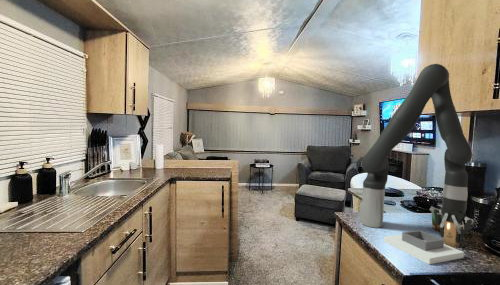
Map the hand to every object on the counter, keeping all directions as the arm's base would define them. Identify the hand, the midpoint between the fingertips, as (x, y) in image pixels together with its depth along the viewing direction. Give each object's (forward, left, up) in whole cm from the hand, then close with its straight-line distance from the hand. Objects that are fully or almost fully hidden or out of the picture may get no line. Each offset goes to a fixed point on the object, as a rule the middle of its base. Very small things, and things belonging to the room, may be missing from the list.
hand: (451, 239), depth 103 cm
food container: (-10, +12, -2) cm, 16 cm away
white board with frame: (0, -16, -2) cm, 16 cm away
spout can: (0, 0, -2) cm, 2 cm away
